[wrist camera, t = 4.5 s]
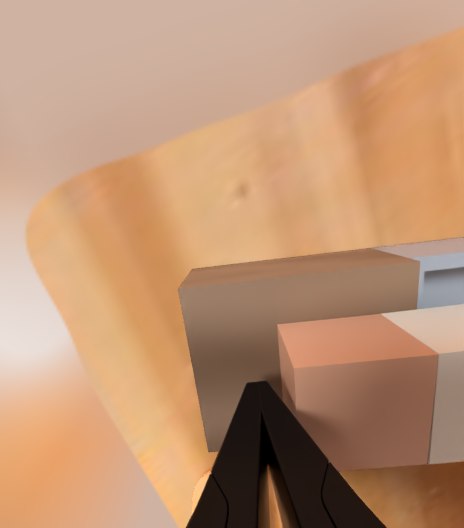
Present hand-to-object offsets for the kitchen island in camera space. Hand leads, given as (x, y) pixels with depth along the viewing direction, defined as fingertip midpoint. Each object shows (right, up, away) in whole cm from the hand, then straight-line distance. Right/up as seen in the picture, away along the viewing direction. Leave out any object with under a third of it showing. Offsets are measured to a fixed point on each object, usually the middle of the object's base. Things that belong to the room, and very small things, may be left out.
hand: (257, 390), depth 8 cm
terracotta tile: (+3, +1, +1) cm, 3 cm away
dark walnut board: (+2, +1, +4) cm, 4 cm away
